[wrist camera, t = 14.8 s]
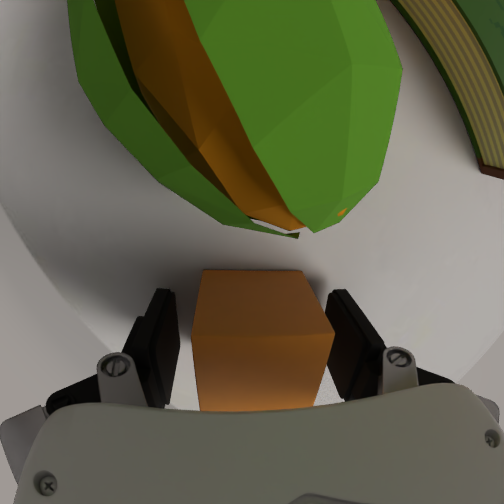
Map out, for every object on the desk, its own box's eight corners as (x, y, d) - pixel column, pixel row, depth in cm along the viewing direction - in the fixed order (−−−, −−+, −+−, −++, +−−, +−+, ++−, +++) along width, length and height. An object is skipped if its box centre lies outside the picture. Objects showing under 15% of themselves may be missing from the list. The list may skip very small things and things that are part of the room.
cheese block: (206, 346, 13) (201, 418, 9) (202, 269, 11) (190, 335, 7) (290, 345, 13) (310, 414, 9) (302, 270, 12) (336, 333, 8)
